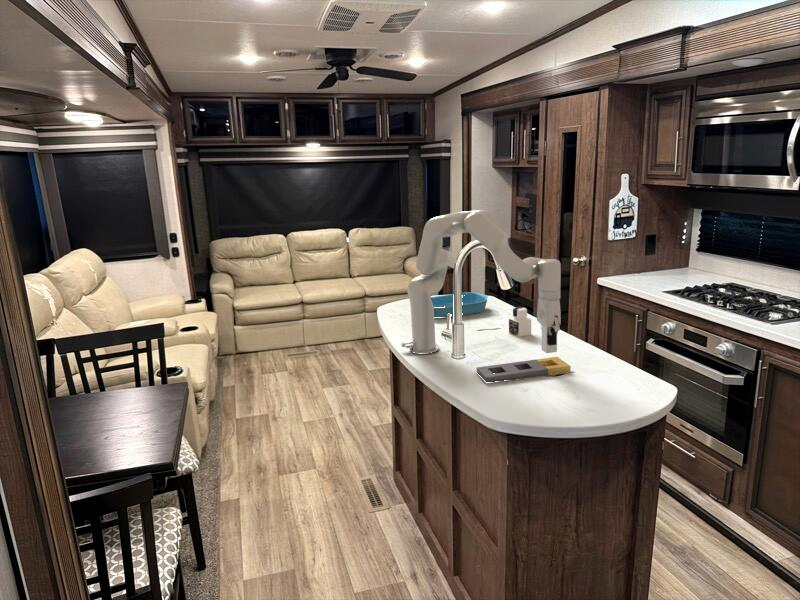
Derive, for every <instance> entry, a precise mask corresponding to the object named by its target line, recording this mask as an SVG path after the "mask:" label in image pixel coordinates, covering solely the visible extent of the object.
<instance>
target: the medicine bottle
mask: <svg viewBox="0 0 800 600" xmlns="http://www.w3.org/2000/svg"><path fill="white" fill-rule="evenodd" d="M508 334H510V335H513V336H514V337H517V338H521V337H525V336H526V337H527V336H529V335H530V336H531V335H532V319H531V318H530V317H528V309H527V308H526V307H524V306H516V307H514V308H512V317H509V318H508Z"/></svg>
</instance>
